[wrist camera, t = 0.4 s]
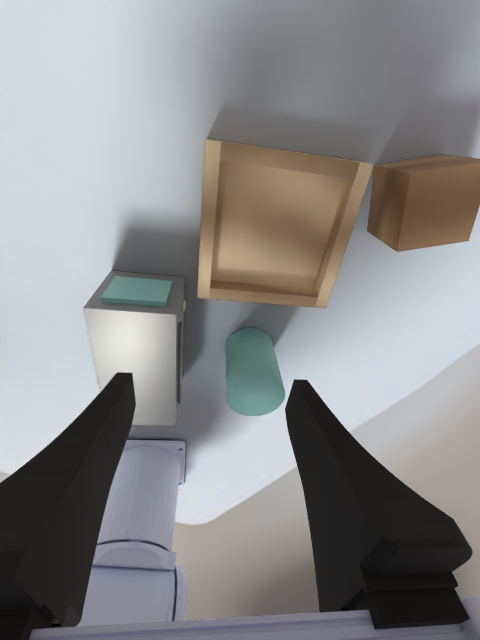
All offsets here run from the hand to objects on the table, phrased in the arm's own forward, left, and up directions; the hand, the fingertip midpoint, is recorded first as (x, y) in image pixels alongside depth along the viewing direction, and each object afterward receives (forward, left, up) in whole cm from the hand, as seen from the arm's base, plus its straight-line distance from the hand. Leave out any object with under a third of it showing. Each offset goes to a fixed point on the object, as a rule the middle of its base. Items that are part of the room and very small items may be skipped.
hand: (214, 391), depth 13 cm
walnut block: (+8, -11, -10) cm, 17 cm away
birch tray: (+5, -3, -10) cm, 11 cm away
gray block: (-4, +5, -10) cm, 12 cm away
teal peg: (-5, -3, -10) cm, 12 cm away
